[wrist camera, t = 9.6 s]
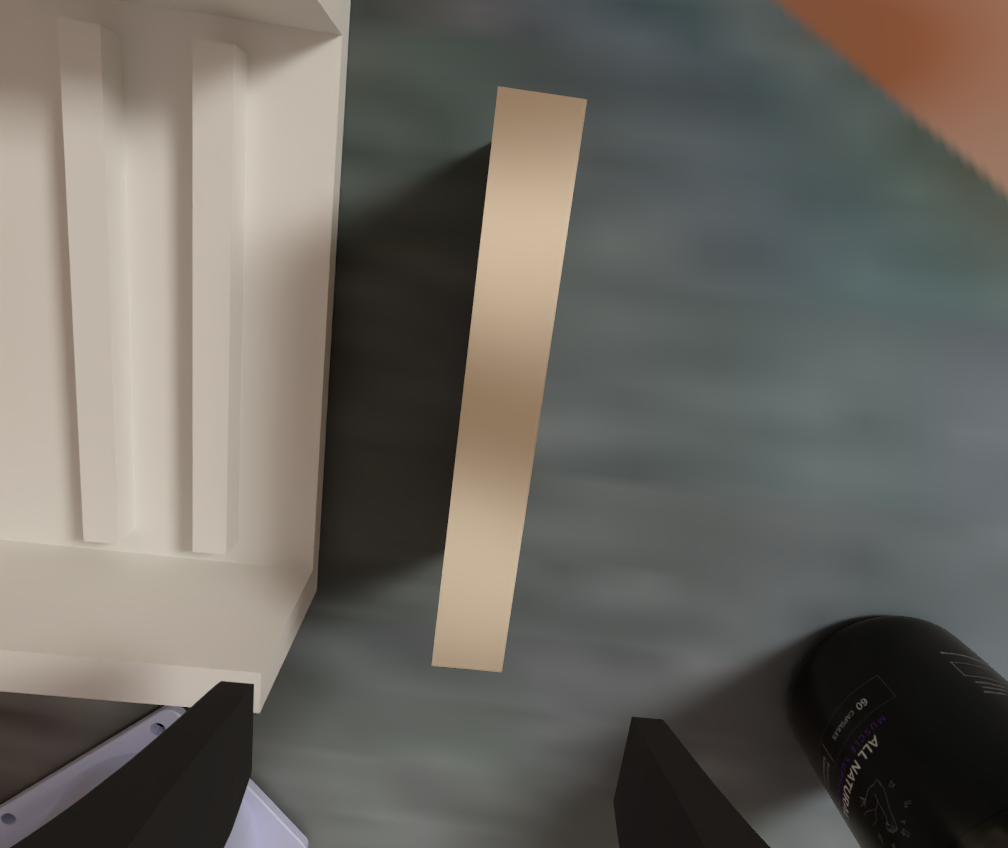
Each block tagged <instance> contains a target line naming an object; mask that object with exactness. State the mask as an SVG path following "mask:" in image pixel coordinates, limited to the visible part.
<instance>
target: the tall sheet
mask: <svg viewBox="0 0 1008 848" xmlns="http://www.w3.org/2000/svg"><path fill="white" fill-rule="evenodd" d="M586 104H587V99H580V98H573V97H566V96H560V95H553V94H546V93H539V92H533V91H526V90H519V89H513V88H506V87H499V86H498V92H497V101H496V110H495V118H494V127H493V136H492V144H491V153H490V162H489V170H488V179H487V188H486V197H485V205H484V214H483V223H482V231H481V240H480V249H479V258H478V266H477V275H476V284H475V292H474V301H473V310H472V319H471V327H470V336H469V345H468V353H467V362H466V371H465V380H464V388H463V397H462V406H461V414H460V423H459V432H458V440H457V449H456V458H455V467H454V475H453V484H452V493H451V501H450V510H449V519H448V528H447V536H446V545H445V554H444V562H443V571H442V580H441V589H440V597H439V606H438V615H437V623H436V632H435V641H434V650H433V658H432V666H441V667H452V668H463V669H474V670H485V671H496V672H502V667H503V660H504V653H505V647H506V640H507V633H508V627H509V620H510V613H511V606H512V600H513V593H514V586H515V580H516V573H517V566H518V560H519V553H520V546H521V539H522V533H523V526H524V519H525V513H526V506H527V499H528V492H529V486H530V479H531V472H532V466H533V459H534V452H535V446H536V439H537V432H538V425H539V419H540V412H541V405H542V399H543V392H544V385H545V379H546V372H547V365H548V358H549V352H550V345H551V338H552V332H553V325H554V318H555V311H556V305H557V298H558V291H559V285H560V278H561V271H562V265H563V258H564V251H565V244H566V238H567V231H568V224H569V218H570V211H571V204H572V197H573V191H574V184H575V177H576V171H577V164H578V157H579V151H580V144H581V137H582V130H583V124H584V117H585V110H586Z"/></svg>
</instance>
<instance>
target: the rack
mask: <svg viewBox="0 0 1008 848" xmlns="http://www.w3.org/2000/svg"><path fill="white" fill-rule="evenodd" d="M350 4H351V0H0V691H3V692H15V693H27V694H38V695H50V696H62V697H74V698H86V699H98V700H109V701H121V702H133V703H145V704H157V705H169V706H180V707H192V706H193V705H194V704H195V703H196V702H197V701H198V700H199V699H200V698H202V697H203V696H204V695H205V694H206V693H207V692H208V691H209V690H210V689H212V688H213V687H214V686H215V685H216V684H218V683H219V682H220V681H226V682H238V683H249V684H254V704H253V713H260V712H261V709H262V707H263V705H264V703H265V701H266V699H267V696H268V694H269V692H270V690H271V688H272V686H273V684H274V681H275V679H276V677H277V675H278V673H279V671H280V668H281V666H282V664H283V662H284V660H285V658H286V656H287V653H288V651H289V649H290V647H291V645H292V643H293V640H294V638H295V636H296V634H297V632H298V630H299V628H300V625H301V623H302V621H303V619H304V617H305V615H306V612H307V610H308V608H309V606H310V604H311V602H312V599H313V597H314V595H315V593H316V591H317V577H318V560H319V542H320V525H321V508H322V490H323V473H324V456H325V438H326V421H327V403H328V386H329V369H330V351H331V334H332V316H333V299H334V282H335V264H336V247H337V230H338V212H339V195H340V177H341V160H342V143H343V125H344V108H345V90H346V73H347V56H348V38H349V21H350Z"/></svg>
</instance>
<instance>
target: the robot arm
mask: <svg viewBox="0 0 1008 848" xmlns="http://www.w3.org/2000/svg"><path fill="white" fill-rule="evenodd" d="M253 704H254V684H249V683H238V682H226V681H220V682H219V683H218V684H216V685H215V686H214V687H213V688H212V689H210V690H209V691H208V692H207V693H206V694H205V695H204V696H203V697H202V698H200V699H199V700H198V701H197V702H196V703H195V704H194V705H193V706H192V707H191V708H189V709H188V710H187V711H186V710H185V709H184V708H183V707H180V706H169V705H164V706H163V707H161V708H159V709H158V710H156V711H154V712H153V713H151V714H149V715H148V716H146V717H144V718H143V719H141V720H140V721H138V722H136V723H135V724H133V725H131V726H130V727H128V728H126V729H125V730H123V731H121V732H120V733H118V734H117V735H115V736H113V737H112V738H110V739H108V740H107V741H105V742H103V743H102V744H100V745H98V746H97V747H95V748H93V749H92V750H90V751H89V752H87V753H85V754H84V755H82V756H80V757H79V758H77V759H75V760H74V761H72V762H70V763H69V764H67V765H65V766H64V767H62V768H61V769H59V770H57V771H56V772H54V773H52V774H51V775H49V776H47V777H46V778H44V779H42V780H41V781H39V782H37V783H36V784H34V785H33V786H31V787H29V788H28V789H26V790H24V791H23V792H21V793H19V794H18V795H16V796H14V797H13V798H11V799H9V800H8V801H6V802H5V803H3V804H1V805H0V848H308V840H307V838H306V837H305V836H304V834H303V833H302V832H301V831H300V830H299V829H298V828H297V827H296V826H295V825H294V824H293V823H292V822H291V821H290V820H289V819H288V818H287V817H286V815H285V814H284V813H283V812H282V811H281V810H280V809H279V808H278V807H277V806H276V805H275V804H274V803H273V802H272V801H271V800H270V799H269V798H268V797H267V795H266V794H265V793H264V792H263V791H262V790H261V789H260V788H259V787H258V786H257V785H256V784H255V783H254V782H253V781H252V780H251V779H250V776H251V772H252V738H253ZM157 723H160V724H162V725H164V727H160V726H159V725H157ZM614 809H615V817H616V825H617V833H618V839H619V846H620V848H770V847H769V846H768V845H767V844H766V843H765V841H764V840H763V839H762V838H761V837H760V836H759V835H758V834H757V833H756V832H755V831H754V830H753V829H752V828H751V826H750V825H749V824H748V823H747V822H746V821H745V820H744V818H743V817H742V816H741V815H740V814H739V813H738V812H737V811H736V809H735V808H734V807H733V806H732V805H731V804H730V802H729V801H728V800H727V799H726V798H725V796H724V795H723V794H722V793H721V792H720V791H719V789H718V788H717V787H716V786H715V785H714V783H713V782H712V781H711V780H710V778H709V777H708V776H707V775H706V773H705V772H704V771H703V770H702V768H701V767H700V766H699V765H698V763H697V762H696V761H695V760H694V758H693V757H692V756H691V755H690V753H689V752H688V751H687V750H686V748H685V747H684V746H683V744H682V743H681V742H680V741H679V739H678V738H677V737H676V736H675V734H674V733H673V732H672V731H671V729H670V728H669V727H668V726H667V724H666V723H665V722H664V721H663V720H661V719H650V718H638V717H632V719H631V724H630V728H629V733H628V737H627V742H626V747H625V751H624V756H623V760H622V765H621V770H620V774H619V779H618V783H617V788H616V793H615V797H614Z"/></svg>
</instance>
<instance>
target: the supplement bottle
mask: <svg viewBox="0 0 1008 848" xmlns="http://www.w3.org/2000/svg"><path fill="white" fill-rule="evenodd" d="M788 707H789V718H790V723H791V727H792V730H793V732H794V735H795V737H796V739H797V741H798V743H799V745H800V746H801V748H802V750H803V752H804V753H805V755H806V757H807V758H808V760H809V762H810V764H811V765H812V767H813V769H814V770H815V772H816V774H817V775H818V777H819V779H820V780H821V782H822V784H823V785H824V787H825V789H826V790H827V792H828V794H829V795H830V797H831V799H832V800H833V802H834V804H835V805H836V807H837V809H838V810H839V812H840V814H841V815H842V817H843V819H844V820H845V822H846V824H847V825H848V827H849V829H850V830H851V832H852V834H853V835H854V837H855V839H856V840H857V842H858V844H859V845H860V847H861V848H1008V681H1006V680H1005V679H1004V678H1003V677H1002V676H1001V675H1000V674H998V673H997V672H996V671H995V670H994V669H993V668H992V667H990V666H989V665H988V664H987V663H986V662H985V661H984V660H982V659H981V658H980V657H979V656H978V655H977V654H976V653H974V652H973V651H972V650H971V649H970V648H968V647H967V646H966V645H965V644H964V643H963V642H961V641H960V640H959V639H958V638H957V637H955V636H954V635H952V634H951V633H950V632H948V631H947V630H945V629H943V628H942V627H940V626H938V625H935V624H933V623H931V622H928V621H925V620H922V619H917V618H912V617H905V616H884V617H876V618H870V619H866V620H862V621H859V622H856V623H853V624H851V625H848V626H846V627H844V628H842V629H840V630H838V631H837V632H835V633H833V634H832V635H830V636H829V637H827V638H826V639H825V640H823V641H822V642H821V643H820V644H819V645H817V646H816V647H815V648H814V649H813V650H812V651H811V652H810V654H809V655H808V656H807V657H806V659H805V660H804V661H803V663H802V664H801V666H800V668H799V669H798V671H797V673H796V676H795V678H794V680H793V683H792V686H791V690H790V695H789V705H788Z"/></svg>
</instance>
